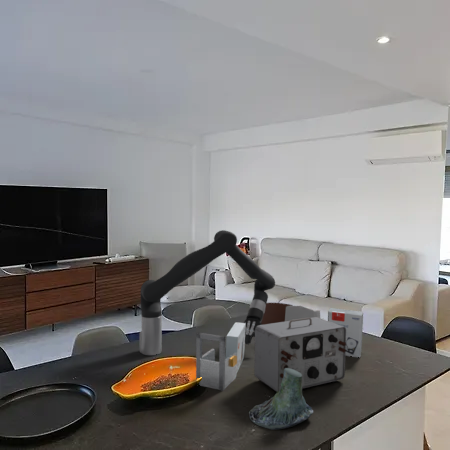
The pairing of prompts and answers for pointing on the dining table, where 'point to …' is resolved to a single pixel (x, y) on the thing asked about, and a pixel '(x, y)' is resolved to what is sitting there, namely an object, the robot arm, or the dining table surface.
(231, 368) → the rack bay
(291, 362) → the vintage electronic device
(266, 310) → the letter holder
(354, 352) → the hard drive box
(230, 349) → the skincare box
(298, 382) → the tree stump
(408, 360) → the dining table surface
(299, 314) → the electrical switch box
